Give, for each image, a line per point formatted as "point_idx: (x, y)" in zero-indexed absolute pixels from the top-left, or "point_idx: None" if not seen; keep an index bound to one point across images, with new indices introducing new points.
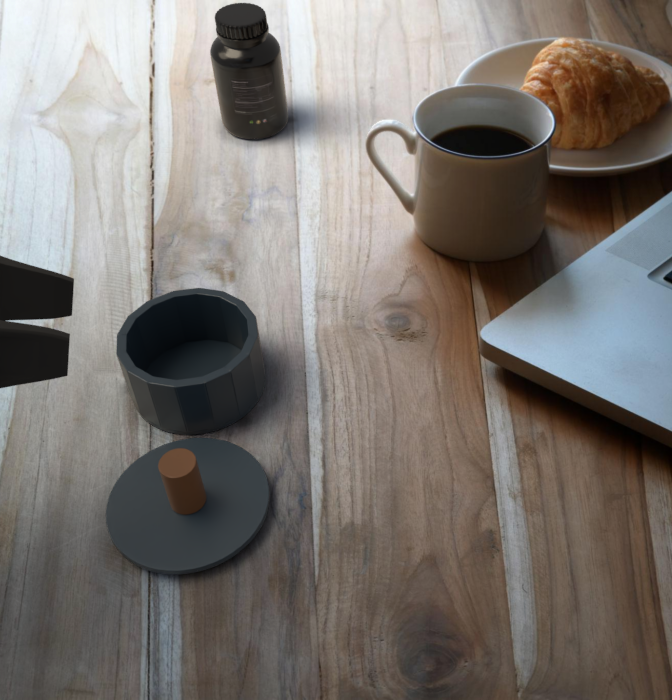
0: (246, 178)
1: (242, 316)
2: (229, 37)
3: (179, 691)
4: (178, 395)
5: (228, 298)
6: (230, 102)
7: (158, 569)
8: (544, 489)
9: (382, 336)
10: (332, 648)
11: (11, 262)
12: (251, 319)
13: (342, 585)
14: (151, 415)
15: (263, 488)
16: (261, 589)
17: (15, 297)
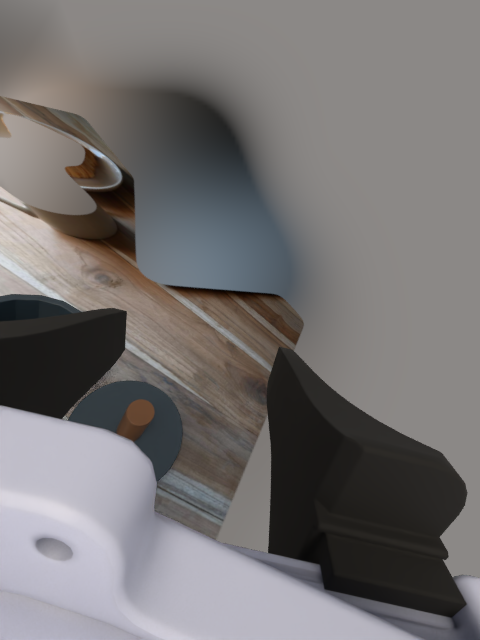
0: None
1: (50, 305)
2: None
3: (231, 501)
4: None
5: (24, 297)
6: None
7: (164, 474)
8: (222, 318)
9: (105, 288)
10: (243, 420)
11: (54, 321)
12: (63, 304)
13: (219, 398)
14: None
15: (155, 390)
16: (201, 429)
17: (79, 368)
